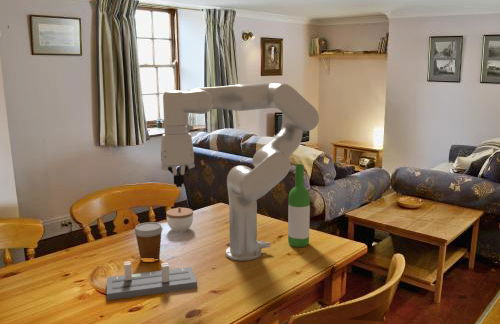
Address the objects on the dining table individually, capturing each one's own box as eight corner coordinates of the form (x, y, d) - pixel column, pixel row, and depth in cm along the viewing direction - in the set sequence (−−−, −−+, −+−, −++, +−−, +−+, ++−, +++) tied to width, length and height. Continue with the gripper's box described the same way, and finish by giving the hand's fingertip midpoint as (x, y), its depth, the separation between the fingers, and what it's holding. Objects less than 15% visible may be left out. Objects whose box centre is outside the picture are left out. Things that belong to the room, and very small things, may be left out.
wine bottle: (288, 239, 180) (289, 162, 173) (309, 240, 178) (311, 163, 172) (287, 247, 172) (287, 167, 166) (308, 248, 171) (310, 167, 165)
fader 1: (131, 276, 145) (130, 260, 144) (132, 279, 142) (130, 263, 141) (124, 277, 144) (123, 261, 143) (125, 280, 142) (124, 264, 141)
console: (191, 272, 152) (191, 266, 152) (197, 287, 142) (197, 281, 142) (107, 283, 145) (107, 277, 145) (107, 300, 135) (106, 293, 135)
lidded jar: (191, 234, 186) (191, 211, 184) (164, 234, 186) (163, 211, 184) (195, 225, 196) (194, 203, 194) (169, 225, 196) (168, 203, 194)
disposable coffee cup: (157, 266, 157) (156, 232, 155) (131, 264, 159) (129, 230, 157) (168, 254, 166) (166, 222, 164) (142, 252, 168) (141, 220, 166)
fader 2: (168, 278, 143) (167, 262, 142) (169, 281, 141) (168, 265, 140) (161, 278, 143) (161, 263, 142) (162, 282, 140) (161, 266, 139)
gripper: (197, 127, 155) (199, 181, 159) (151, 129, 151) (154, 185, 155) (202, 130, 148) (203, 187, 152) (153, 133, 144) (156, 191, 148)
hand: (178, 186), depth 153 cm, fingers closed
